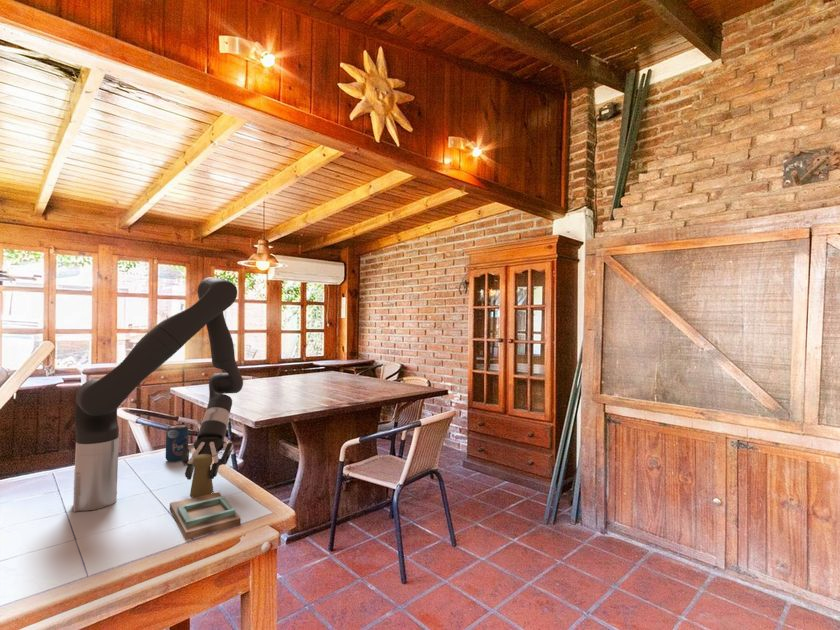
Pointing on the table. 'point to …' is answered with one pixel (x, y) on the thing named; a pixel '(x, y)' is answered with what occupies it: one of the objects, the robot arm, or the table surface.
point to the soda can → (176, 442)
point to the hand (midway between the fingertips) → (200, 477)
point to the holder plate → (204, 514)
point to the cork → (201, 476)
